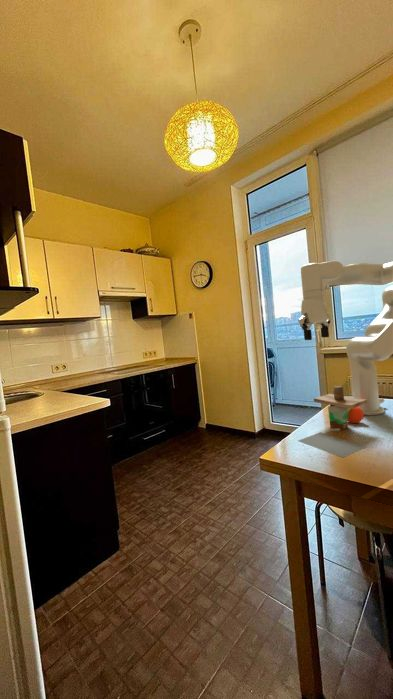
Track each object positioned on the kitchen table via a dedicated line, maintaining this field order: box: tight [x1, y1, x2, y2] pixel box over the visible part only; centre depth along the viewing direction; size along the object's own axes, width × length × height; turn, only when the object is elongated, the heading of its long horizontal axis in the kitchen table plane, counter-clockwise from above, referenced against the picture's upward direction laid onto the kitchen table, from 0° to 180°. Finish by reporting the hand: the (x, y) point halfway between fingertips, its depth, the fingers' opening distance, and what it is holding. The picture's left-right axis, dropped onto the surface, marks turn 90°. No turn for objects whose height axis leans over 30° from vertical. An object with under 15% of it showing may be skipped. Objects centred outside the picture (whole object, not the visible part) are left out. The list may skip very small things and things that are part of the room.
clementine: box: [347, 407, 364, 424], centre depth 110 cm, size 8×7×7 cm
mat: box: [297, 432, 367, 459], centre depth 93 cm, size 11×17×1 cm, turn 27°
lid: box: [313, 385, 367, 409], centre depth 105 cm, size 9×15×6 cm, turn 28°
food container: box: [327, 405, 349, 432], centre depth 106 cm, size 12×6×10 cm, turn 148°
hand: (316, 338), depth 116 cm, fingers open, 9 cm apart
